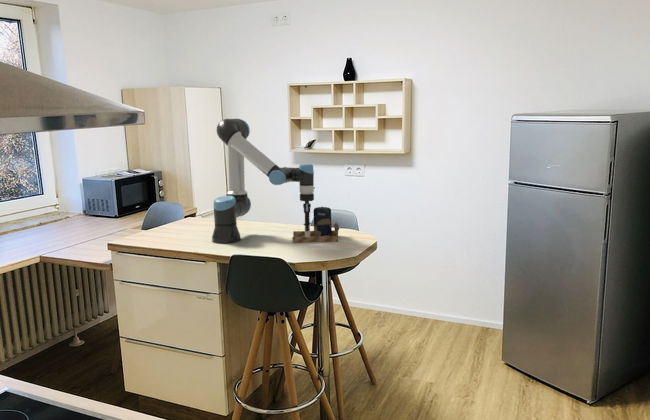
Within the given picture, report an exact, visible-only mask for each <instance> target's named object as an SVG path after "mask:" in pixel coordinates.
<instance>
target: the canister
mask: <svg viewBox="0 0 650 420" xmlns="http://www.w3.org/2000/svg"><path fill="white" fill-rule="evenodd" d="M332 224H333V223H332V209H331V207H327V206H319V207H315V208H313V231H314V236H332Z"/></svg>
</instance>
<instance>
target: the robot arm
mask: <svg viewBox="0 0 650 420" xmlns="http://www.w3.org/2000/svg"><path fill="white" fill-rule="evenodd" d="M250 130H251V129H250V126H249V124H248V123H247V121H245V120H244V119H242V118H225V119H222V120H220V122H218V123H217V126H216V134H217V136H218V138H219V139H220V140H221V141H222V142H223V143H224V145H226V146H227V151H228V152H227V155H228V159H227V161H228V162H227V163H228V164H227V166H228V190H227V192H226V194H225V195H223V196H218V197H216V198H214V200H213V205H212V206H213V207H212V208H213V217H214V228H213V232H212V235H211V236H212V237H211V241H212V242H213V243H214V244H228V243H229V244H233V243H236V242H239V241H241V234H240V231H239V228H238V224H237V222H238V221H237V218H239V217H243V216H245V215H246V214H247V213H248V212H249V211H250V209H251V207H252V202H251V199H250V197H249V195H248V191H246V190H245V186H246V185H245V183H246V182H245V159H246V160H248V161H249V163H251V164H252V165H253V166H255V167H256V168H257V169H259V171H261V173H263V174H264V175H265V176H266V177H267V178H268V179H269V182H270V183H271V184H272V185H274V186H279V185H280V186H281V185H283V184H287V183H291V182H293V183H294V182H295V183H296V182H298V183H299V193H300V194H299V201H300V202H304V203H303V204H302V206H303V213H304V223H303V226H304V231H305V237H310V231H311V226H310V225H311V224H312V223H311V221H310V213H311V206H312V204H311V203H310V202H313V201H314V200H315V194H314V191H315V190H314V189H316V187H315V186H314V181H315V180H314V175H315V172H314V171H315V170H314V165H313V164H311V163H302V164H301V163H300V164H299V166H298V167H286V166H284V167H282V166H281V167H280V166H279V165H277V164H276V163H275V162H274V161H273V160H271V159H270V158H269V157H268V156H267V155H266V154H264V153H263V152H262V151H261V150H259V149H258V148H257V147H256V146H255V145H254V144H252V142H250V141H248V140H247V138H249V136H250V134H251V133H250V132H251V131H250Z"/></svg>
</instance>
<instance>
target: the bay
mask: <svg viewBox="0 0 650 420" xmlns="http://www.w3.org/2000/svg"><path fill="white" fill-rule="evenodd" d="M332 224H333V227H334V228H333V229H334V230H332V236H314V230H310V237H305V230H297V231H295V230H294V231H292V233H293V234H292V235H293V236H292V238H291V239H292V244H296V243H297V244H299V243H300V244H305V243H307V244H308V243H314V244H315V243H339V230H340V227H339V223H338V221H337V220H334V221H333V222H332Z"/></svg>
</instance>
